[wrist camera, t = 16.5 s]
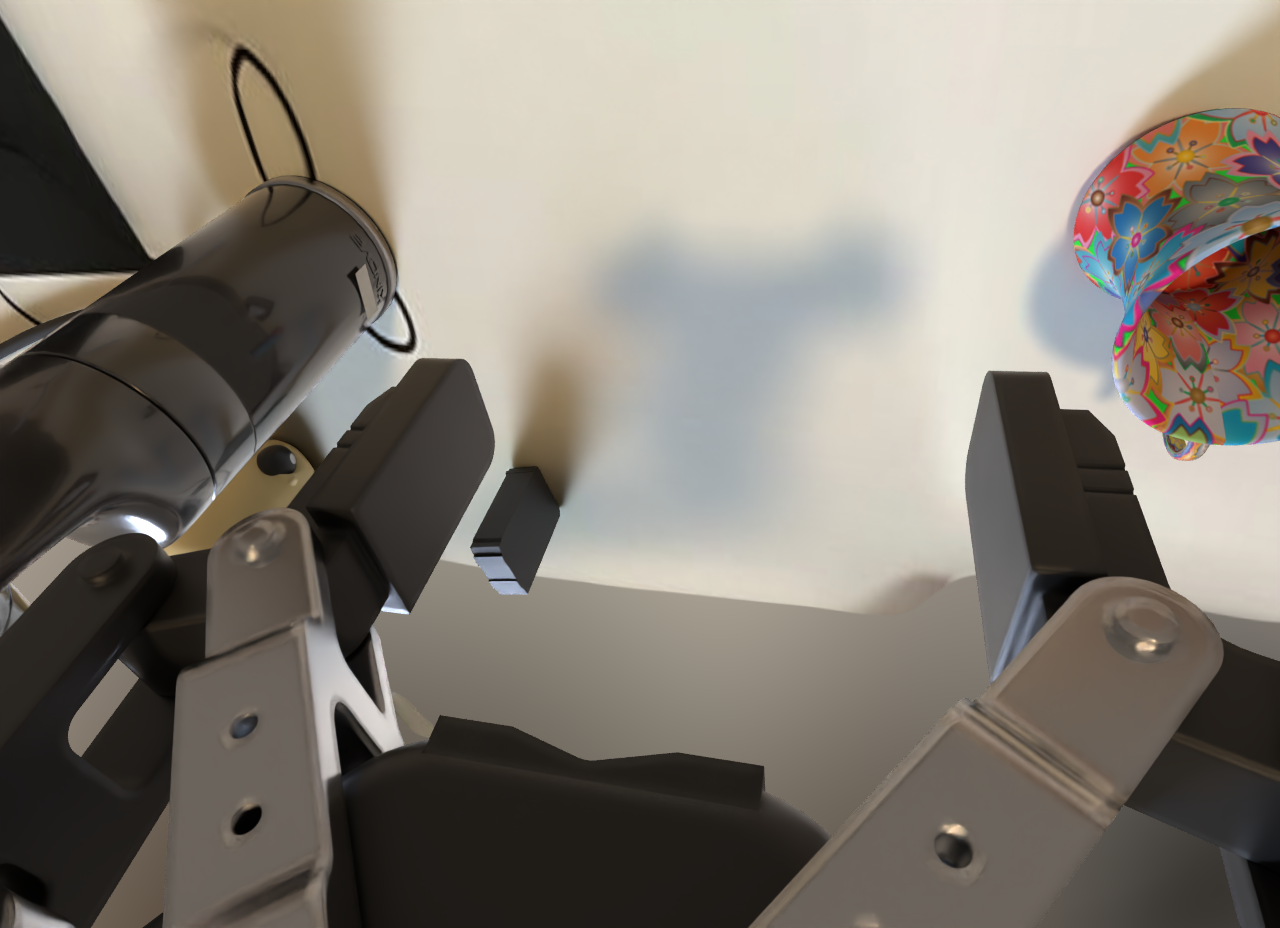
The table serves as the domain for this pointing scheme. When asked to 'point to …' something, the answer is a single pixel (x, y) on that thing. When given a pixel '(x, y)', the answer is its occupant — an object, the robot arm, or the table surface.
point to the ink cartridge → (516, 531)
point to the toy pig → (249, 494)
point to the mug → (1193, 276)
